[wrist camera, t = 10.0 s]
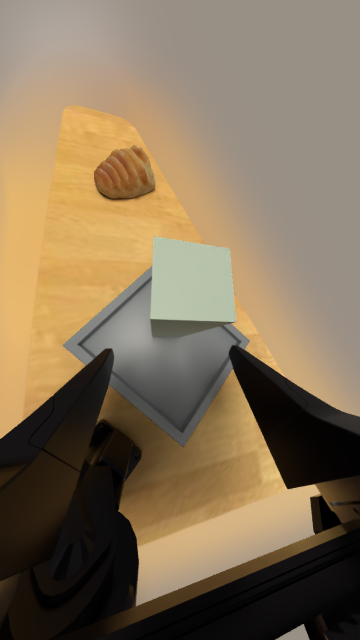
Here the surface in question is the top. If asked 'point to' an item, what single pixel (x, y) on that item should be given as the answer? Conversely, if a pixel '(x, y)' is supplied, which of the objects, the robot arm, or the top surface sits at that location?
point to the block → (190, 288)
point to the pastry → (125, 174)
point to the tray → (158, 360)
